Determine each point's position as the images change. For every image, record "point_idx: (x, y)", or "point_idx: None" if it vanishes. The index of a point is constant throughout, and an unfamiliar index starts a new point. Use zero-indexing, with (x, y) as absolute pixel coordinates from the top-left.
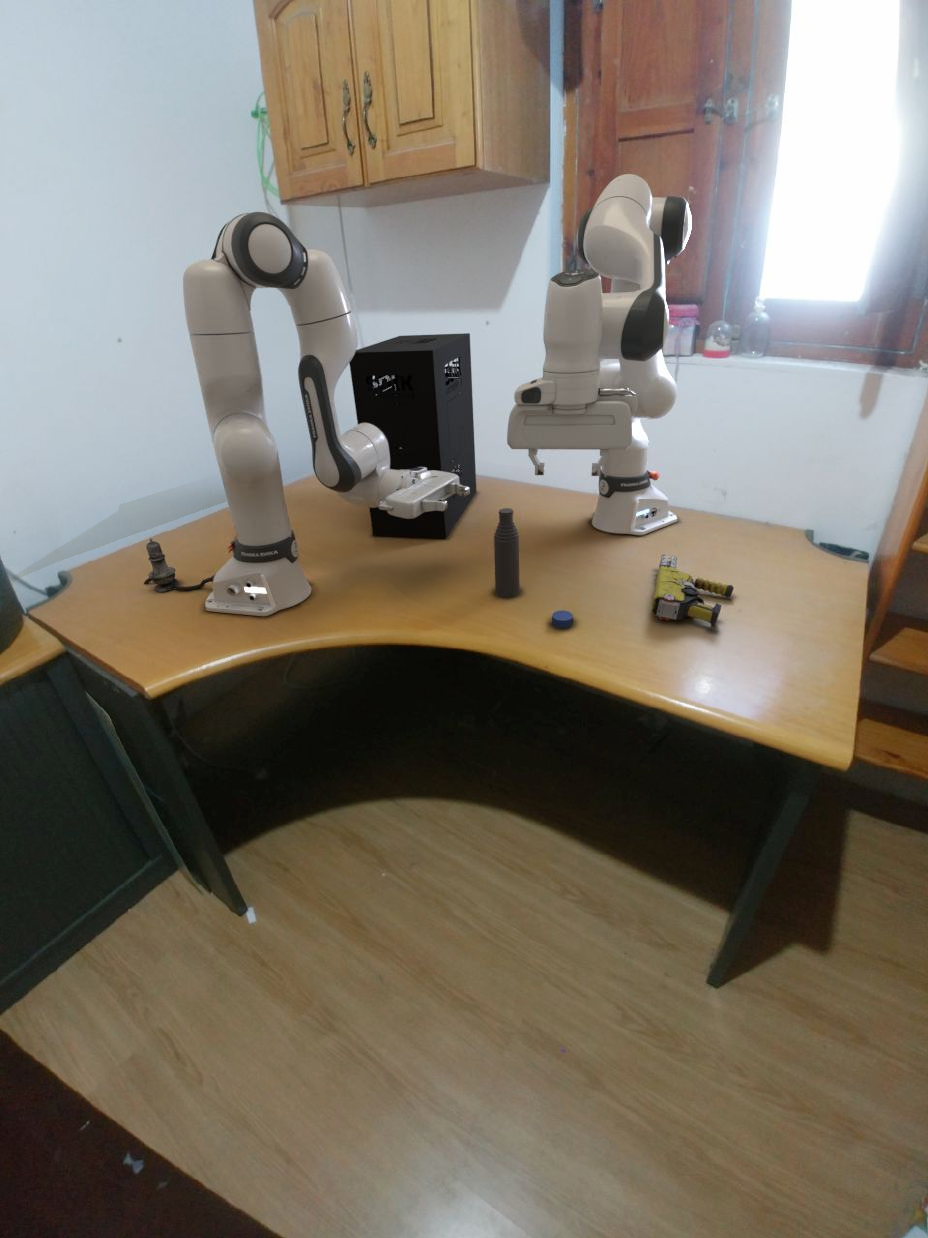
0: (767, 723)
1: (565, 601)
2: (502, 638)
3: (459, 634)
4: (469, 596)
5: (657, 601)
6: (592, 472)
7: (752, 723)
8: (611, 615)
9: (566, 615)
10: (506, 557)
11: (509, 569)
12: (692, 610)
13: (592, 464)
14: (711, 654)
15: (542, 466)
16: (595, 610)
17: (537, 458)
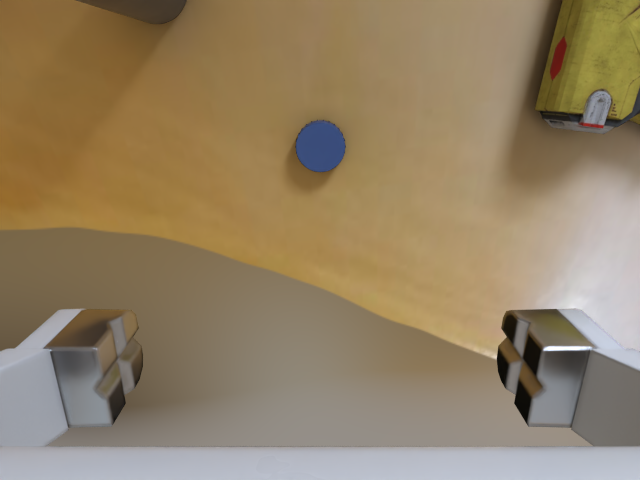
0: None
1: (320, 25)
2: (201, 222)
3: (106, 218)
4: (57, 27)
5: (561, 112)
6: (513, 389)
7: None
8: (435, 90)
9: (329, 147)
10: (107, 5)
11: (135, 9)
12: (636, 120)
13: (539, 383)
14: (614, 228)
15: (106, 422)
16: (398, 68)
17: (2, 379)
